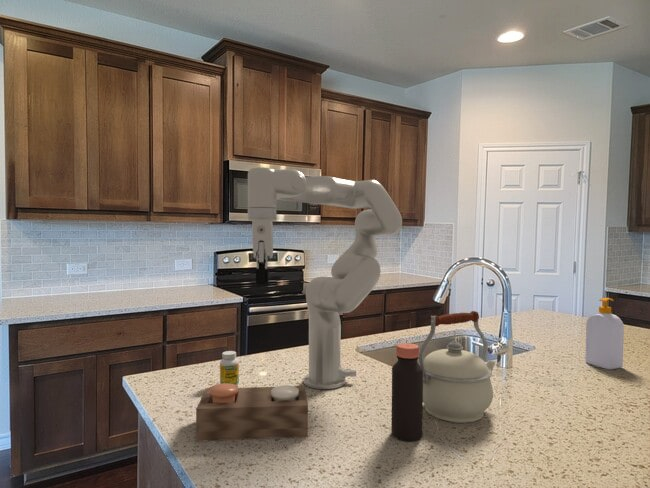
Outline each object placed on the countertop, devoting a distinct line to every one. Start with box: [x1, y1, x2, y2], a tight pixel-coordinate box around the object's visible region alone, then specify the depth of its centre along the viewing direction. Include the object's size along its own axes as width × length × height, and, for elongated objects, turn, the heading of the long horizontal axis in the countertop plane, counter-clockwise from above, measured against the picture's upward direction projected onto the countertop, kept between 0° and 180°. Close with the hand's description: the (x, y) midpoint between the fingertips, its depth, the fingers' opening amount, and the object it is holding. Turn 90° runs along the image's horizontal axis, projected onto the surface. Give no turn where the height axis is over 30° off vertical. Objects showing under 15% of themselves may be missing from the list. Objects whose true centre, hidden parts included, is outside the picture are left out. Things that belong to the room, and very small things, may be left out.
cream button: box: [271, 385, 299, 401], centre depth 101 cm, size 6×6×6 cm
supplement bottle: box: [219, 350, 240, 386], centre depth 128 cm, size 5×5×10 cm
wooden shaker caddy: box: [195, 385, 309, 442], centre depth 101 cm, size 24×12×7 cm, turn 96°
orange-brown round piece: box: [208, 383, 239, 403], centre depth 100 cm, size 6×6×6 cm
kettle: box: [418, 310, 496, 424], centre depth 110 cm, size 25×18×25 cm
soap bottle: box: [584, 297, 625, 371], centre depth 149 cm, size 9×7×23 cm
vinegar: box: [390, 342, 424, 442], centre depth 97 cm, size 7×7×20 cm
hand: (262, 284), depth 116 cm, fingers closed
